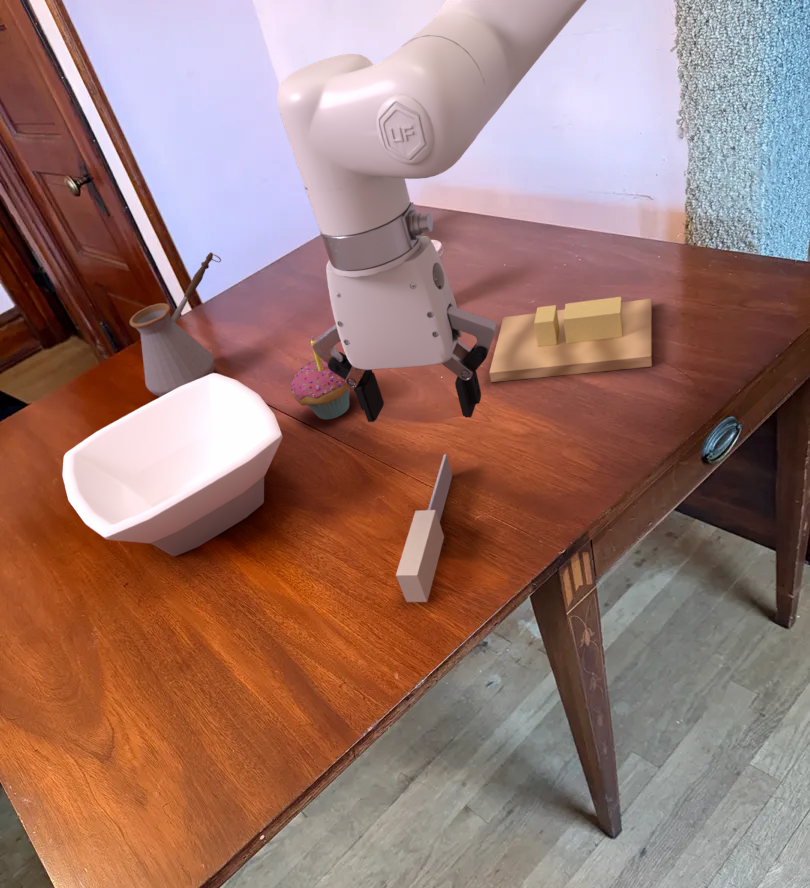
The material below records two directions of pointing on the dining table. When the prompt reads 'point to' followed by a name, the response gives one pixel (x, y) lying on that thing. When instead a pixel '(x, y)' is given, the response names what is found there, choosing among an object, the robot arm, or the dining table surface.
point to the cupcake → (321, 389)
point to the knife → (424, 542)
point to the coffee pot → (171, 344)
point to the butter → (593, 320)
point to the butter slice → (546, 325)
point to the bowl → (176, 466)
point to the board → (572, 347)
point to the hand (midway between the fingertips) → (422, 411)
